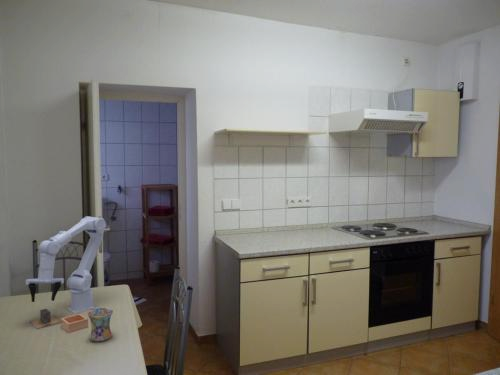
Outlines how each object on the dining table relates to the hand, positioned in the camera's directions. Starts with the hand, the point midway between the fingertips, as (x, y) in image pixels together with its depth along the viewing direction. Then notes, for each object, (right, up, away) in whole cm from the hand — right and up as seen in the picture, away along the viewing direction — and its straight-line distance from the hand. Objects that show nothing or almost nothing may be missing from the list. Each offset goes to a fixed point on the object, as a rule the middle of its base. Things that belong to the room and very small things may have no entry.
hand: (42, 300), depth 170 cm
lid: (+1, -10, +1) cm, 10 cm away
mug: (+28, -12, -11) cm, 32 cm away
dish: (+15, -11, -3) cm, 18 cm away
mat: (+1, -10, +1) cm, 10 cm away
